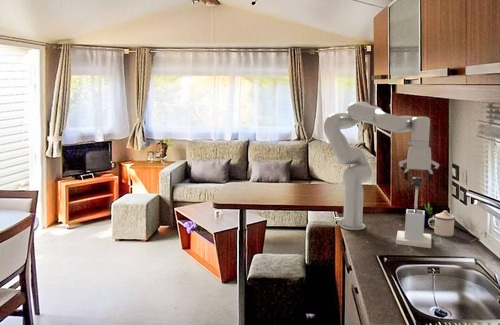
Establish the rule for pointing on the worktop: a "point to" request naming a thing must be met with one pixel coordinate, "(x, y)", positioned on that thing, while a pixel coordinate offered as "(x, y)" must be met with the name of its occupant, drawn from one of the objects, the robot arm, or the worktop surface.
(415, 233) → the stand
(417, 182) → the plunger
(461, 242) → the worktop surface
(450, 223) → the teacup with lid
